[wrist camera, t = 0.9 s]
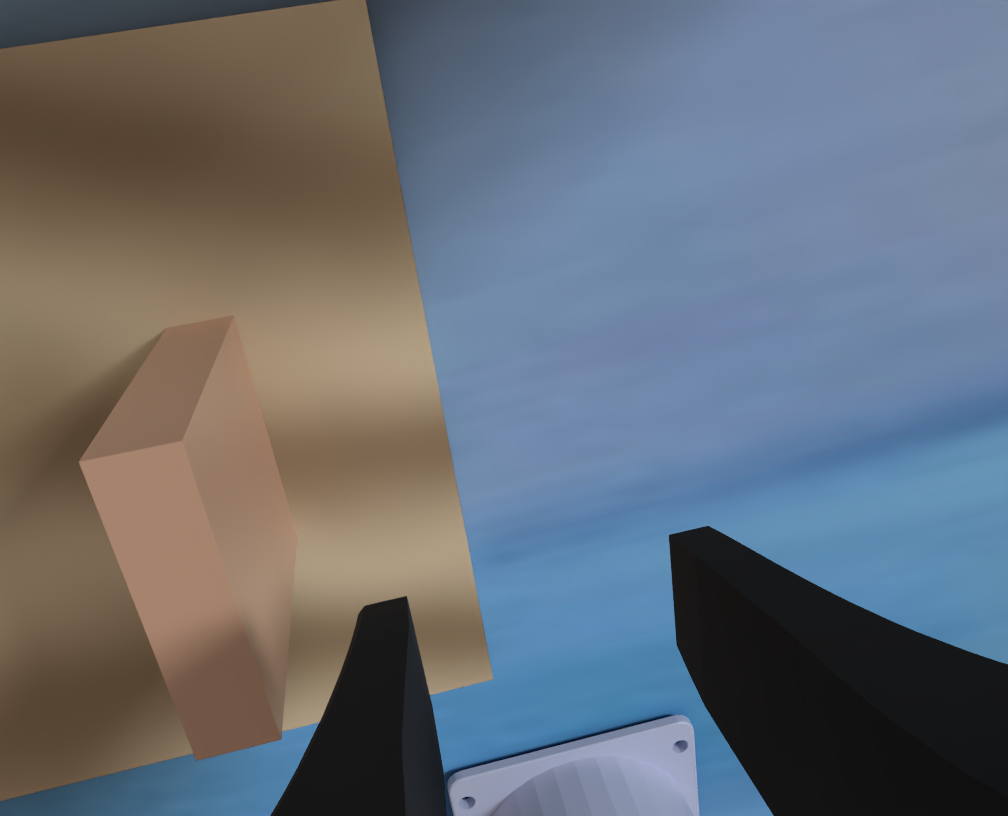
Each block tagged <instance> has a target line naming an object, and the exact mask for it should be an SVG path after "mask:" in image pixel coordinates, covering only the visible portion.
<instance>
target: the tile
mask: <svg viewBox="0 0 1008 816" xmlns="http://www.w3.org/2000/svg"><path fill="white" fill-rule="evenodd" d="M79 464H80V467H81V469H82V472H83V474H84V477H85V479H86V482H87V484H88V487H89V489H90V492H91V495H92V497H93V500H94V502H95V505H96V507H97V510H98V512H99V515H100V517H101V520H102V522H103V525H104V528H105V530H106V533H107V535H108V538H109V540H110V543H111V545H112V548H113V550H114V553H115V556H116V558H117V561H118V563H119V566H120V568H121V571H122V573H123V576H124V578H125V581H126V583H127V586H128V589H129V591H130V594H131V596H132V599H133V601H134V604H135V606H136V609H137V611H138V614H139V616H140V619H141V622H142V624H143V627H144V629H145V632H146V634H147V637H148V639H149V642H150V644H151V647H152V650H153V652H154V655H155V657H156V660H157V662H158V665H159V667H160V670H161V672H162V675H163V677H164V680H165V683H166V685H167V688H168V690H169V693H170V695H171V698H172V700H173V703H174V705H175V708H176V710H177V713H178V716H179V718H180V721H181V723H182V726H183V728H184V731H185V733H186V736H187V738H188V741H189V744H190V746H191V749H192V751H193V754H194V756H195V759H196V761H197V760H201V759H205V758H209V757H213V756H217V755H221V754H225V753H229V752H233V751H237V750H241V749H245V748H249V747H253V746H257V745H261V744H265V743H269V742H273V741H277V740H281V739H282V726H283V714H284V701H285V689H286V676H287V664H288V651H289V639H290V626H291V614H292V601H293V589H294V576H295V564H296V551H297V539H298V538H297V534H296V531H295V527H294V524H293V520H292V517H291V513H290V510H289V506H288V503H287V499H286V496H285V492H284V489H283V485H282V482H281V478H280V475H279V471H278V467H277V464H276V460H275V457H274V453H273V450H272V446H271V443H270V439H269V436H268V432H267V429H266V425H265V422H264V418H263V415H262V411H261V408H260V404H259V401H258V397H257V394H256V390H255V387H254V383H253V380H252V376H251V373H250V369H249V366H248V362H247V359H246V355H245V352H244V348H243V345H242V341H241V338H240V334H239V331H238V327H237V324H236V320H235V317H234V315H232V316H227V317H222V318H216V319H211V320H206V321H200V322H195V323H190V324H184V325H179V326H173V327H168V328H166V330H165V331H164V333H163V334H162V336H161V337H160V339H159V340H158V342H157V343H156V345H155V346H154V348H153V349H152V351H151V352H150V354H149V356H148V357H147V359H146V360H145V362H144V363H143V365H142V366H141V368H140V369H139V371H138V372H137V374H136V375H135V377H134V378H133V380H132V381H131V383H130V384H129V386H128V388H127V389H126V391H125V392H124V394H123V395H122V397H121V398H120V400H119V401H118V403H117V404H116V406H115V407H114V409H113V410H112V412H111V413H110V415H109V416H108V418H107V420H106V421H105V423H104V424H103V426H102V427H101V429H100V430H99V432H98V433H97V435H96V436H95V438H94V439H93V441H92V442H91V444H90V445H89V447H88V448H87V450H86V452H85V453H84V455H83V456H82V458H81V459H80V461H79Z"/></svg>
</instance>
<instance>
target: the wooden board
mask: <svg viewBox="0 0 1008 816" xmlns="http://www.w3.org/2000/svg"><path fill="white" fill-rule="evenodd" d="M232 315H234V317H235V320H236V324H237V327H238V331H239V334H240V338H241V341H242V345H243V348H244V352H245V355H246V359H247V362H248V366H249V369H250V373H251V376H252V380H253V383H254V387H255V390H256V394H257V397H258V401H259V404H260V408H261V411H262V415H263V418H264V422H265V425H266V429H267V432H268V436H269V439H270V443H271V446H272V450H273V453H274V457H275V460H276V464H277V467H278V471H279V475H280V478H281V482H282V485H283V489H284V492H285V496H286V499H287V503H288V506H289V510H290V513H291V517H292V520H293V524H294V527H295V531H296V534H297V538H298V539H297V551H296V564H295V576H294V589H293V601H292V614H291V626H290V639H289V651H288V664H287V676H286V689H285V701H284V714H283V726H282V731H286V730H290V729H294V728H298V727H302V726H306V725H310V724H315V723H319V722H320V720H321V718H322V716H323V714H324V711H325V709H326V706H327V704H328V702H329V699H330V697H331V694H332V692H333V689H334V687H335V684H336V682H337V679H338V677H339V675H340V672H341V669H342V666H343V663H344V661H345V658H346V655H347V652H348V649H349V646H350V643H351V640H352V637H353V633H354V629H355V626H356V622H357V617H358V614H359V612H360V611H361V610H362V608H363V607H364V606H365V605H369V604H374V603H378V602H382V601H387V600H391V599H395V598H400V597H404V596H407V599H408V603H409V607H410V612H411V616H412V620H413V625H414V629H415V633H416V638H417V642H418V646H419V651H420V655H421V659H422V664H423V668H424V673H425V677H426V681H427V686H428V690H429V694H430V695H432V694H436V693H440V692H444V691H448V690H452V689H456V688H460V687H464V686H468V685H472V684H476V683H480V682H484V681H488V680H493V676H492V671H491V665H490V660H489V655H488V649H487V644H486V639H485V633H484V628H483V623H482V617H481V612H480V607H479V601H478V596H477V591H476V585H475V580H474V575H473V569H472V564H471V559H470V553H469V548H468V543H467V537H466V532H465V527H464V521H463V516H462V511H461V505H460V500H459V495H458V489H457V484H456V479H455V473H454V468H453V463H452V457H451V452H450V447H449V442H448V436H447V431H446V426H445V420H444V415H443V410H442V404H441V399H440V394H439V388H438V383H437V378H436V372H435V367H434V362H433V356H432V351H431V346H430V340H429V335H428V330H427V324H426V319H425V314H424V308H423V303H422V298H421V292H420V287H419V282H418V276H417V271H416V266H415V260H414V255H413V250H412V244H411V239H410V234H409V228H408V223H407V218H406V212H405V207H404V202H403V196H402V191H401V186H400V180H399V175H398V170H397V164H396V159H395V154H394V148H393V143H392V138H391V132H390V127H389V122H388V117H387V111H386V106H385V101H384V95H383V90H382V85H381V79H380V74H379V69H378V63H377V58H376V53H375V47H374V42H373V37H372V31H371V26H370V21H369V15H368V10H367V5H366V0H335V1H329V2H322V3H315V4H308V5H301V6H294V7H287V8H280V9H273V10H266V11H259V12H252V13H246V14H239V15H232V16H225V17H218V18H211V19H204V20H197V21H190V22H183V23H176V24H169V25H162V26H156V27H149V28H142V29H135V30H128V31H121V32H114V33H107V34H100V35H93V36H86V37H79V38H72V39H66V40H59V41H52V42H45V43H38V44H31V45H24V46H17V47H10V48H3V49H0V801H3V800H7V799H11V798H15V797H19V796H23V795H27V794H31V793H35V792H39V791H43V790H47V789H51V788H56V787H60V786H64V785H68V784H72V783H76V782H80V781H84V780H88V779H92V778H96V777H100V776H104V775H108V774H112V773H116V772H120V771H124V770H128V769H132V768H136V767H141V766H145V765H149V764H153V763H157V762H161V761H165V760H169V759H173V758H177V757H181V756H185V755H189V754H193V751H192V749H191V746H190V744H189V741H188V738H187V736H186V733H185V731H184V728H183V726H182V723H181V721H180V718H179V716H178V713H177V710H176V708H175V705H174V703H173V700H172V698H171V695H170V693H169V690H168V688H167V685H166V683H165V680H164V677H163V675H162V672H161V670H160V667H159V665H158V662H157V660H156V657H155V655H154V652H153V650H152V647H151V644H150V642H149V639H148V637H147V634H146V632H145V629H144V627H143V624H142V622H141V619H140V616H139V614H138V611H137V609H136V606H135V604H134V601H133V599H132V596H131V594H130V591H129V589H128V586H127V583H126V581H125V578H124V576H123V573H122V571H121V568H120V566H119V563H118V561H117V558H116V556H115V553H114V550H113V548H112V545H111V543H110V540H109V538H108V535H107V533H106V530H105V528H104V525H103V522H102V520H101V517H100V515H99V512H98V510H97V507H96V505H95V502H94V500H93V497H92V495H91V492H90V489H89V487H88V484H87V482H86V479H85V477H84V474H83V472H82V469H81V467H80V464H79V461H80V459H81V458H82V456H83V455H84V453H85V452H86V450H87V448H88V447H89V445H90V444H91V442H92V441H93V439H94V438H95V436H96V435H97V433H98V432H99V430H100V429H101V427H102V426H103V424H104V423H105V421H106V420H107V418H108V416H109V415H110V413H111V412H112V410H113V409H114V407H115V406H116V404H117V403H118V401H119V400H120V398H121V397H122V395H123V394H124V392H125V391H126V389H127V388H128V386H129V384H130V383H131V381H132V380H133V378H134V377H135V375H136V374H137V372H138V371H139V369H140V368H141V366H142V365H143V363H144V362H145V360H146V359H147V357H148V356H149V354H150V352H151V351H152V349H153V348H154V346H155V345H156V343H157V342H158V340H159V339H160V337H161V336H162V334H163V333H164V331H165V330H166V328H168V327H173V326H179V325H184V324H190V323H195V322H200V321H206V320H211V319H216V318H222V317H227V316H232Z"/></svg>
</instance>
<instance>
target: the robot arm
mask: <svg viewBox="0 0 1008 816" xmlns="http://www.w3.org/2000/svg"><path fill="white" fill-rule="evenodd" d="M669 543H670V557H671V571H672V585H673V599H674V613H675V627H676V641H677V647H678V649H679V651H680V654H681V656H682V658H683V660H684V662H685V665H686V667H687V669H688V671H689V674H690V676H691V678H692V680H693V682H694V684H695V686H696V688H697V691H698V693H699V695H700V697H701V699H702V701H703V703H704V705H705V707H706V708H707V710H708V712H709V713H710V715H711V717H712V718H713V720H714V721H715V723H716V725H717V726H718V728H719V729H720V731H721V733H722V734H723V736H724V737H725V739H726V741H727V742H728V744H729V746H730V747H731V749H732V750H733V752H734V753H735V755H736V757H737V758H738V760H739V761H740V763H741V765H742V766H743V768H744V769H745V771H746V772H747V774H748V776H749V777H750V779H751V780H752V782H753V784H754V785H755V787H756V788H757V790H758V791H759V793H760V795H761V796H762V798H763V799H764V801H765V802H766V804H767V806H768V807H769V809H770V810H771V812H772V814H773V815H774V816H1008V664H1004V663H1001V662H998V661H995V660H992V659H989V658H986V657H983V656H980V655H977V654H974V653H971V652H968V651H966V650H963V649H960V648H958V647H955V646H952V645H950V644H947V643H945V642H942V641H939V640H937V639H934V638H931V637H929V636H926V635H924V634H921V633H918V632H916V631H913V630H911V629H909V628H906V627H904V626H902V625H899V624H897V623H894V622H892V621H890V620H888V619H886V618H883V617H881V616H879V615H877V614H875V613H873V612H870V611H868V610H866V609H864V608H862V607H860V606H857V605H855V604H853V603H851V602H849V601H847V600H845V599H843V598H841V597H839V596H837V595H835V594H833V593H831V592H829V591H827V590H825V589H823V588H821V587H819V586H817V585H815V584H813V583H811V582H809V581H808V580H806V579H804V578H802V577H800V576H798V575H796V574H794V573H793V572H791V571H789V570H787V569H785V568H783V567H782V566H780V565H778V564H776V563H774V562H773V561H771V560H769V559H767V558H766V557H764V556H762V555H760V554H758V553H757V552H755V551H753V550H751V549H750V548H748V547H746V546H744V545H742V544H741V543H739V542H737V541H735V540H734V539H732V538H730V537H728V536H726V535H725V534H723V533H721V532H719V531H717V530H715V529H713V528H711V527H709V526H706V527H701V528H697V529H693V530H688V531H684V532H680V533H675V534H671V535H669ZM680 740H681V741H680ZM678 741H680V742H679V743H677V744H675V743H676V742H678ZM447 788H448V794H449V798H450V803H451V807H452V811H453V816H699V805H698V789H697V773H696V758H695V742H694V729H693V726H692V724H691V723H690V721H689V719H688V718H687V717H686V716H683V715H674V716H670V717H666V718H662V719H658V720H654V721H651V722H647V723H643V724H639V725H635V726H631V727H627V728H624V729H620V730H616V731H612V732H608V733H604V734H600V735H597V736H593V737H589V738H585V739H581V740H577V741H573V742H570V743H566V744H562V745H558V746H554V747H550V748H546V749H543V750H539V751H535V752H531V753H527V754H523V755H519V756H516V757H512V758H508V759H504V760H500V761H496V762H492V763H489V764H485V765H481V766H477V767H473V768H469V769H465V770H462V771H459V772H456V773H454V774H453V775H452V776H451V777H450V778H449V780H448V783H447ZM464 797H470V798H468V799H462V798H464ZM271 816H446V801H445V786H444V772H443V766H442V760H441V754H440V748H439V743H438V737H437V731H436V725H435V719H434V714H433V708H432V703H431V699H430V694H429V690H428V686H427V681H426V677H425V673H424V668H423V664H422V659H421V655H420V651H419V646H418V642H417V638H416V633H415V629H414V625H413V620H412V616H411V612H410V607H409V603H408V599H407V596H404V597H400V598H395V599H391V600H387V601H382V602H378V603H374V604H369V605H365V606H364V607H363V608H362V610H361V611H360V612H359V614H358V617H357V622H356V626H355V629H354V633H353V637H352V640H351V643H350V646H349V649H348V652H347V655H346V658H345V661H344V663H343V666H342V669H341V672H340V675H339V677H338V679H337V682H336V684H335V687H334V689H333V692H332V694H331V697H330V699H329V702H328V704H327V706H326V709H325V711H324V714H323V716H322V718H321V720H320V723H319V725H318V727H317V729H316V731H315V733H314V735H313V737H312V739H311V741H310V743H309V745H308V747H307V749H306V751H305V753H304V755H303V758H302V760H301V762H300V764H299V766H298V768H297V770H296V771H295V773H294V775H293V777H292V779H291V781H290V783H289V784H288V786H287V788H286V790H285V792H284V793H283V795H282V797H281V799H280V800H279V802H278V804H277V806H276V807H275V809H274V811H273V812H272V814H271Z"/></svg>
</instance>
